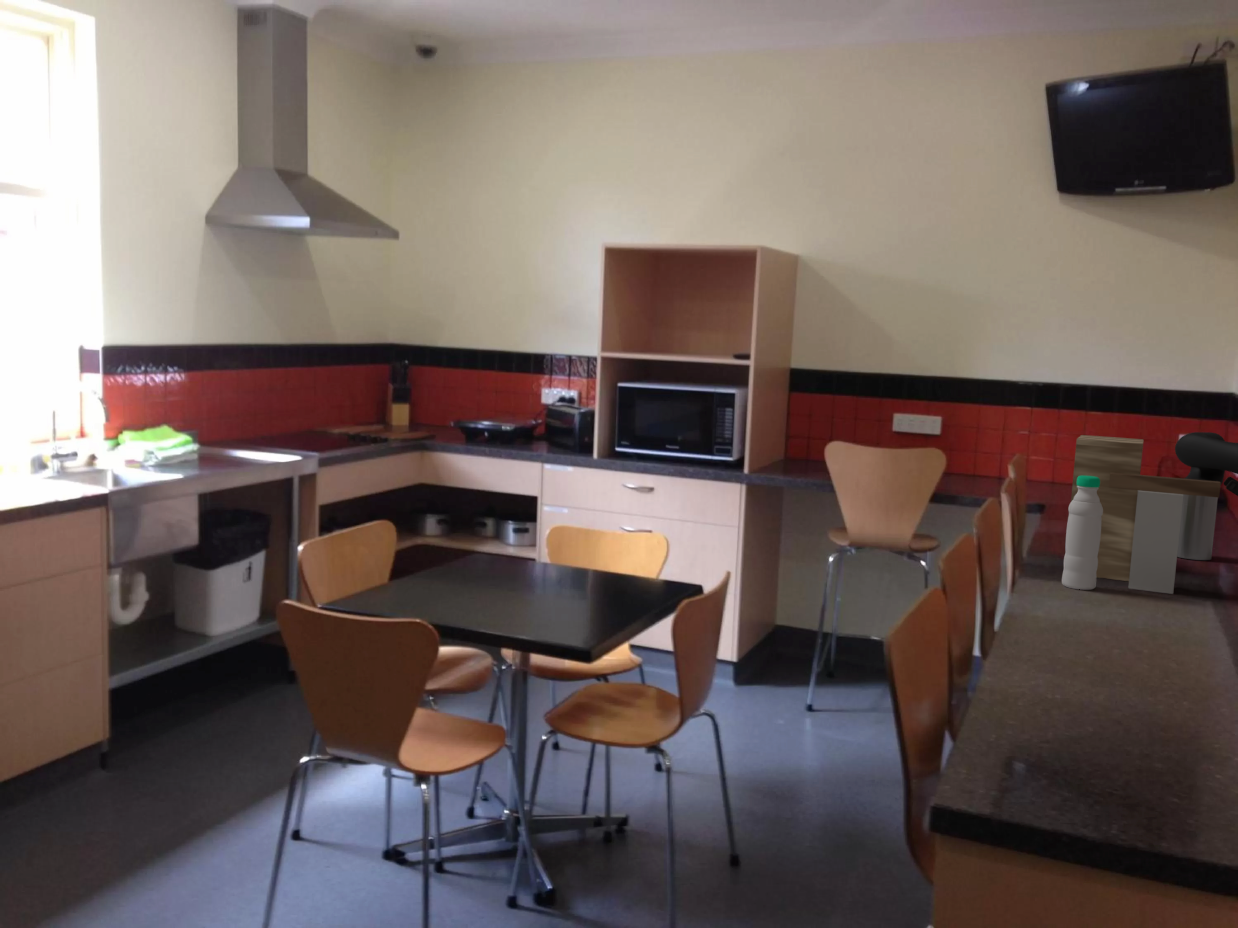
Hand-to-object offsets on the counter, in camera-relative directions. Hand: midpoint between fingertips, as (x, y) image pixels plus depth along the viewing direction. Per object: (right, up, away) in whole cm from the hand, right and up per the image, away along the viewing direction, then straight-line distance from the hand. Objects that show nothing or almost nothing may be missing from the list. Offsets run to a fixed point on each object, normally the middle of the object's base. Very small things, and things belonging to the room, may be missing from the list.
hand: (1227, 481), depth 235 cm
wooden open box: (-16, -22, +26) cm, 38 cm away
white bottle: (-30, -24, +6) cm, 39 cm away
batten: (-11, -2, +6) cm, 13 cm away
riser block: (-12, -24, +9) cm, 28 cm away
